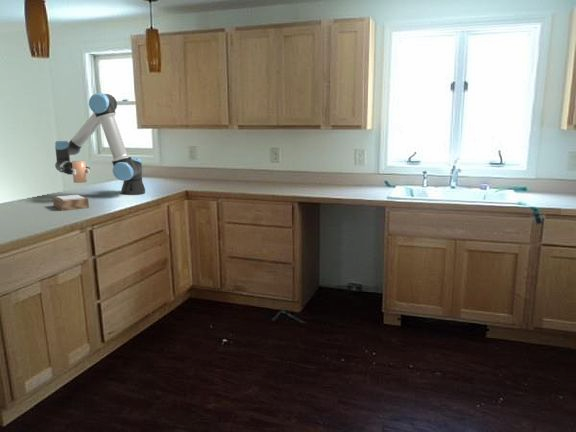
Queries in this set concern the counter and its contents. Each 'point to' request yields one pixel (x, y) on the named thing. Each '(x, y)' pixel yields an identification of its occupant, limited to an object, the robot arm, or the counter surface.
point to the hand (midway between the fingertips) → (82, 171)
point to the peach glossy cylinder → (79, 171)
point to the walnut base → (70, 202)
